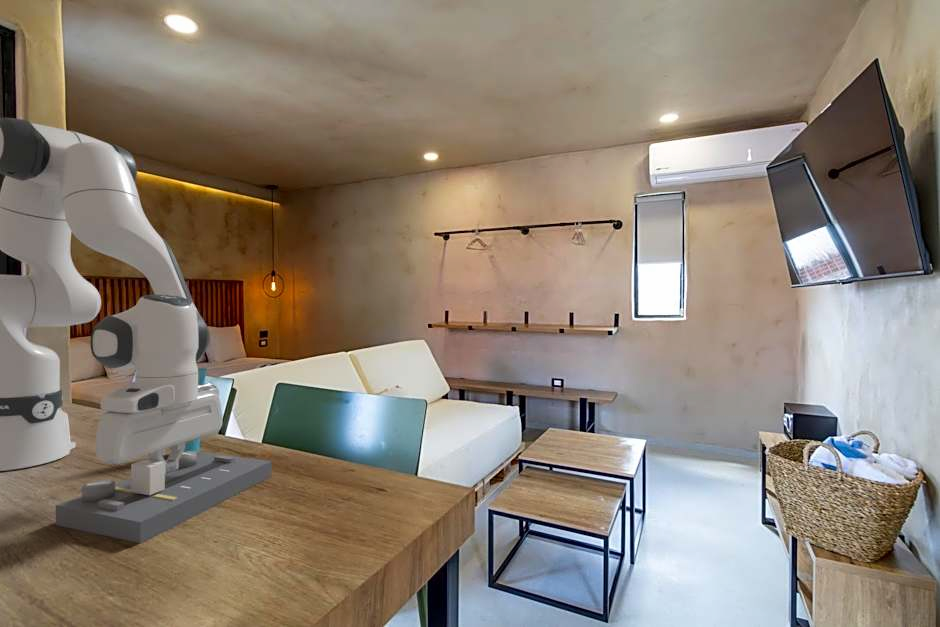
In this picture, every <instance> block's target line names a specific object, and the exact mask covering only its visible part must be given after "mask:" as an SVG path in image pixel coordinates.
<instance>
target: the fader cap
mask: <svg viewBox="0 0 940 627" xmlns="http://www.w3.org/2000/svg"><path fill="white" fill-rule="evenodd" d="M130 467H131V468H130V478H131V492H134V493H139V494H145V495H152V494H154V493H157V492H159V491H162V490H164V489H165V462H162V461H155V460H151V459H150V458H146V459H142V460H139V461H137V462H134V463H131V464H130Z"/></svg>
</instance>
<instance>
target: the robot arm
mask: <svg viewBox="0 0 940 627" xmlns="http://www.w3.org/2000/svg"><path fill="white" fill-rule="evenodd" d="M0 174H1V175H3V176H4V179H3V181H2V185H1V188H0V251H1V252H2V253H4V254H6V255H7V256H10V257H11V258H13V259H15V260H17V261H19V262H22V263H24V264H26V265H28V266H29V273H28V274H26V275H18V274H17V275H16V274H0V472H3V471H12V470H19V469H24V468H30V467H34V466H39V465H43V464H47V463H50V462H53V461H56V460H59V459H62V458H64V457H66V456H67V455H69V454H70V453H71V451H72V450H73V449H75V448H77V447H76V446H77V445H76V441H71V436H70V435H71V434H70V433H71V432H70V425H69V424H70V423H69V416H68V413H66V411H63V409H62V407H63V402H64V401H63V400H64V395H63V390H62V389H61V387H60V386H61V385H60V384H61V383H60V382H61V381H60V380H61V369H60V368H61V360H60V356H59V355H58V354H57V352H55V351H54V350H53V349H51V348H49V347H46V346H45V345H42V344H39V343H35V342H31V341H29V339H27V338H26V336H25V333H24V329H26V328H59V327H60V328H61V327H64V328H65V327H69V326H75V325H82V324H86V323H89V322H92V321H93V320H94V319H95V318H96V317H97V316H98V314H99V313H100V310H101V307H102V298H101V295H100V293H99V291H98V289H97V288H96V286H94V285H93V284H92V283H91V282H90V281H88V280H87V279H85V278H84V277H83V276H82V275H81V274H80V273H79V272H78V270H77V268H76V267H75V264H74V262H73V259H72V255H71V253H72V252H71V241H72V235H73V236H74V237H76V239H77V240H78V241H80V242H81V243H82V244H84V245H85V246H86V247H88V248H90V249H92V250H93V251H96V252H98V253H100V254H103V255H106V256H109V257H111V258H114V259H116V260H119V261H121V262H123V263H125V264H127V265H129V266H131V267H133V268H135V269H136V270H138V271H139V272H140V273H142V274H143V275H144V277H146V279H147V280H148V282H149V284H150V287H151V289H152V291H153V294H152V293H151V294H146V295H143V296H141V297H140V298H139V299H138V300H137V303H136V305H134V306H132V307H131V308H129V309H127V310H125V311H123V312H119V313H116V314H113V315H107V316H105V317H104V318H102V319H101V320H100V321H99V322H97V324H96V325H95V326H94V328H93V329H92V332H91V335H90V351H91V354H92V356H93V357H94V359H95V360H96V361H97V362H98V363H99V364H101V365H102V366H104V367H106V368H108V369H114V370H129V369H135V370H136V371H135V374H134V381H133V382H131V383H129V384H127V385H125V386H123V387H121V388H119V389H117V390H115V391H113V392H111V393H108V394H106V395H104V396H103V397H102V398H101V399H100V404H99V405H100V409H101V410H102V411H106V412H105V413H104V414H103V415H102V416H101V417H100V418H99V419H98V420H99V421H98V422H97V427H96V434H95V435H96V436H95V437H96V438H95V455H96V458H97V459H98V460H99V461H100V462H101V463H105V464H108V465H109V464H110V465H111V464H112V465H118V464H122V463H126V462H129V461H131V460H135V459H138V458H140V457H144V456H148V459H149V460H155V461H162V462H165V474H167V473H170V472H173V471H175V470H177V469H178V468H179V459H180V457H181V455H182V453H183V451H184V449H185V442H187V441H190V440H193V439H197V438H200V439H201V438H203V437H205V436H207V435H208V436H209V435H211V434H215V433H217V432H219V431H220V430H221V428H222V427H223V411H222V404H221V403H222V402H221V399H220V390H219V388H218V386H216V385H215V384H213V383H211V382H210V383H209V382H207V383H205V384H204V385H198V368H199V367H198V365H197V361H198V360H200V359H201V358H202V357H203V356H204V354H205V353H206V351H207V350H208V348H209V346H210V344H211V343H210V342H211V334H210V330H209V328H208V325H207V323H206V322H205V320H204V318H203V316H201V314H200V313H199V311H198V309H197V307H196V305H195V302H194V301H193V300H194V299H193V297H192V295H191V293H190V290H189V288H188V285H187V282H186V281H185V278H184V276H183V274H182V271H181V269H180V266H179V263H178V261H177V259H176V256H175V254H174V252H173V250H172V249H171V248H172V247H170V244H169V243H168V242H167V240H165V238H163V237H162V236H161V235H160V234H159V233H158V232H157V231H156V230H155V228H154V227H153V225H152V223H150V221H149V220H148V218H147V216H146V214H145V212H144V210H143V207H142V204H141V200H140V194H139V192H138V188H137V186H136V182H137V176H138V169H137V164H136V161H135V158H134V157H133V155H132V154H131V153H130V152H129V151H128V150H126V149H125V148H123V147H120V145H117V144H114V143H112V142H108V141H107V142H105V141H103V140H100V139H97V138H95V137H92V136H89V135H87V134H83V133H80V132H77V131H73V130H66V129H63V128H58V127H55V126H50V125H44V124H40V123H33V122H30V121H28V120H26V119H20V118H15V117H0ZM167 449H168V450H170V452H169V454H168V456H167V459H166V460H165V458H164V456H166V453H167Z"/></svg>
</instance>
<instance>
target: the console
mask: <svg viewBox="0 0 940 627" xmlns="http://www.w3.org/2000/svg"><path fill="white" fill-rule="evenodd" d="M272 463H273V461H272V460H266V459H258V458H257V459H256V458H252V457H251V458H249V457H243V456H236V455H235V456H234V455H228V454H220V453H214V452H213V453H212V452H206V451H205V452H204V451H202V452H198V453H197V454H196V452H194V451H185V452H183V453H182V455H181V457H180V459H179V468H178V469H177V470H175V471H173V472H170V473H167V474H165V489H164V490H162V491H159V492H157V493H154V494H152V495H145V494H139V493H134V492H131V477H129V478H128V479H123V480H122V481H119V482H116V481H115V480H114V479H100V480H95V481H91V482H89V483H86V484H84V485H82V487H81V495H80V496H77V497H74V498H72V499H70V500H66V501H63V502H61V503H58V504H55V526H58V527H63V528H69V529H72V530H77V531H82V532H86V533H87V532H88V533H91V534H96V535H99V536H100V535H101V536H104V537H105V536H106V537H109V538H114V539H119V540H124V541H128V542H133V543H138V544H142V543H144V542H146V541H148V540H150V539H152V538H154V537H155V536H158V535H160V534H162V533H163V532H166V531H168V530H169V529H171V528H174V527H175V526H177V525H179V524H181V523H183V522H185V521H186V520H187V521H188V520H189V519H191V518H192V517H195V516H197V515H199V514H201V513H202V512H205V511H206V510H209V509H211V508H212V507H214V506H216V505H218V504H220V503H222V502H225V501H226V500H228V499H230V498H232V497H234V496H236V495H238V494H240V493H242V492H244V491H245V490H247V489H249V488H252V487H254V486H256V485H257V484H260V483H261V482H264V481H265V480H267V479H269V478H270V477H272V465H273V464H272Z"/></svg>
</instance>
